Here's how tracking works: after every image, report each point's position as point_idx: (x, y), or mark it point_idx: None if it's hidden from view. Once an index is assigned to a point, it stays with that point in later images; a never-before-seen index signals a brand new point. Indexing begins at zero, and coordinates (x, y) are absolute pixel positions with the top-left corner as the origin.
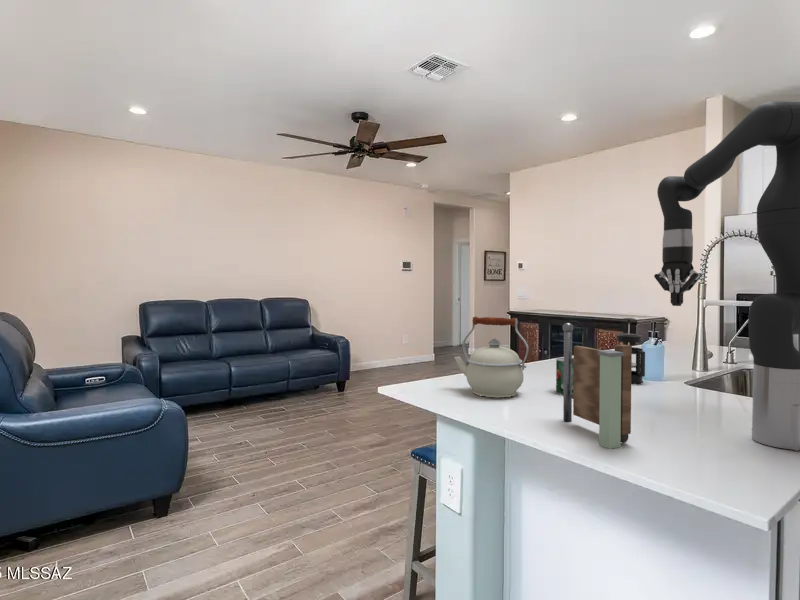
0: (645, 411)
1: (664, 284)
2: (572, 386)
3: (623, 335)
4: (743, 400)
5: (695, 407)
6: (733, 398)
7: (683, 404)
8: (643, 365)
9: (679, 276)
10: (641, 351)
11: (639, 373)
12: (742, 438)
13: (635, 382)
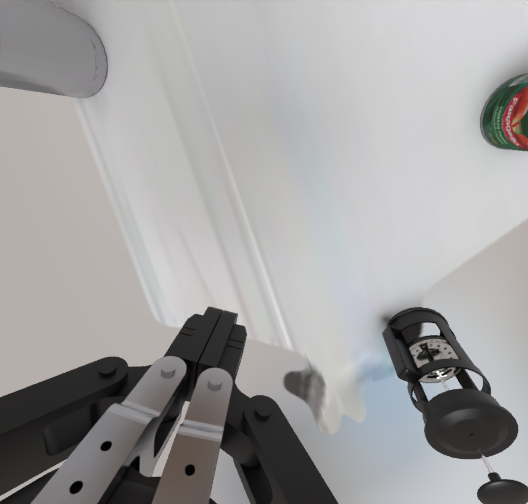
0: (300, 84)
1: (268, 453)
2: (516, 83)
3: (484, 413)
4: None
5: (244, 202)
6: None
7: (267, 210)
8: (390, 347)
9: (45, 492)
10: (407, 374)
11: (396, 338)
12: (112, 32)
13: (396, 318)
